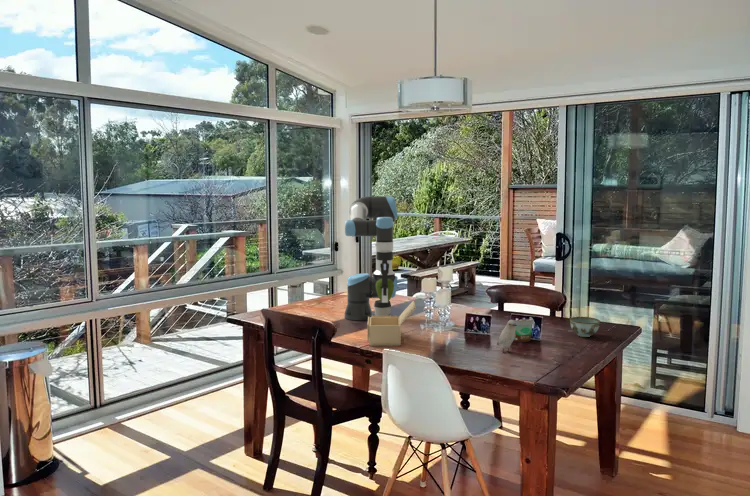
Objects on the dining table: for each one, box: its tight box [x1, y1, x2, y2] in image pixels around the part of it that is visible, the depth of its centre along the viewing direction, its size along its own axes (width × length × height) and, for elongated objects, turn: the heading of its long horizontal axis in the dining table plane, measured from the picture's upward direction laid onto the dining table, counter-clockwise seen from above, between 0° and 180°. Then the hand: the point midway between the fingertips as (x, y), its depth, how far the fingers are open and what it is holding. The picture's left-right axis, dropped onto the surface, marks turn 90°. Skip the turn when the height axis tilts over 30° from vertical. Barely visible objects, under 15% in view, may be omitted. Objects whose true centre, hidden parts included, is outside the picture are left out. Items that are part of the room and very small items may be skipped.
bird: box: [496, 319, 517, 354], centre depth 264 cm, size 5×14×15 cm, turn 23°
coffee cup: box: [373, 299, 392, 316], centre depth 302 cm, size 8×8×15 cm
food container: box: [512, 316, 535, 343], centre depth 284 cm, size 12×6×10 cm, turn 117°
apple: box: [376, 279, 394, 302], centre depth 283 cm, size 9×8×12 cm
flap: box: [398, 300, 417, 325], centre depth 284 cm, size 16×1×10 cm
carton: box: [366, 315, 402, 347], centre depth 285 cm, size 20×15×10 cm
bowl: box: [569, 316, 601, 338], centre depth 292 cm, size 14×13×8 cm
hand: (384, 300), depth 284 cm, fingers closed on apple, 8 cm apart
